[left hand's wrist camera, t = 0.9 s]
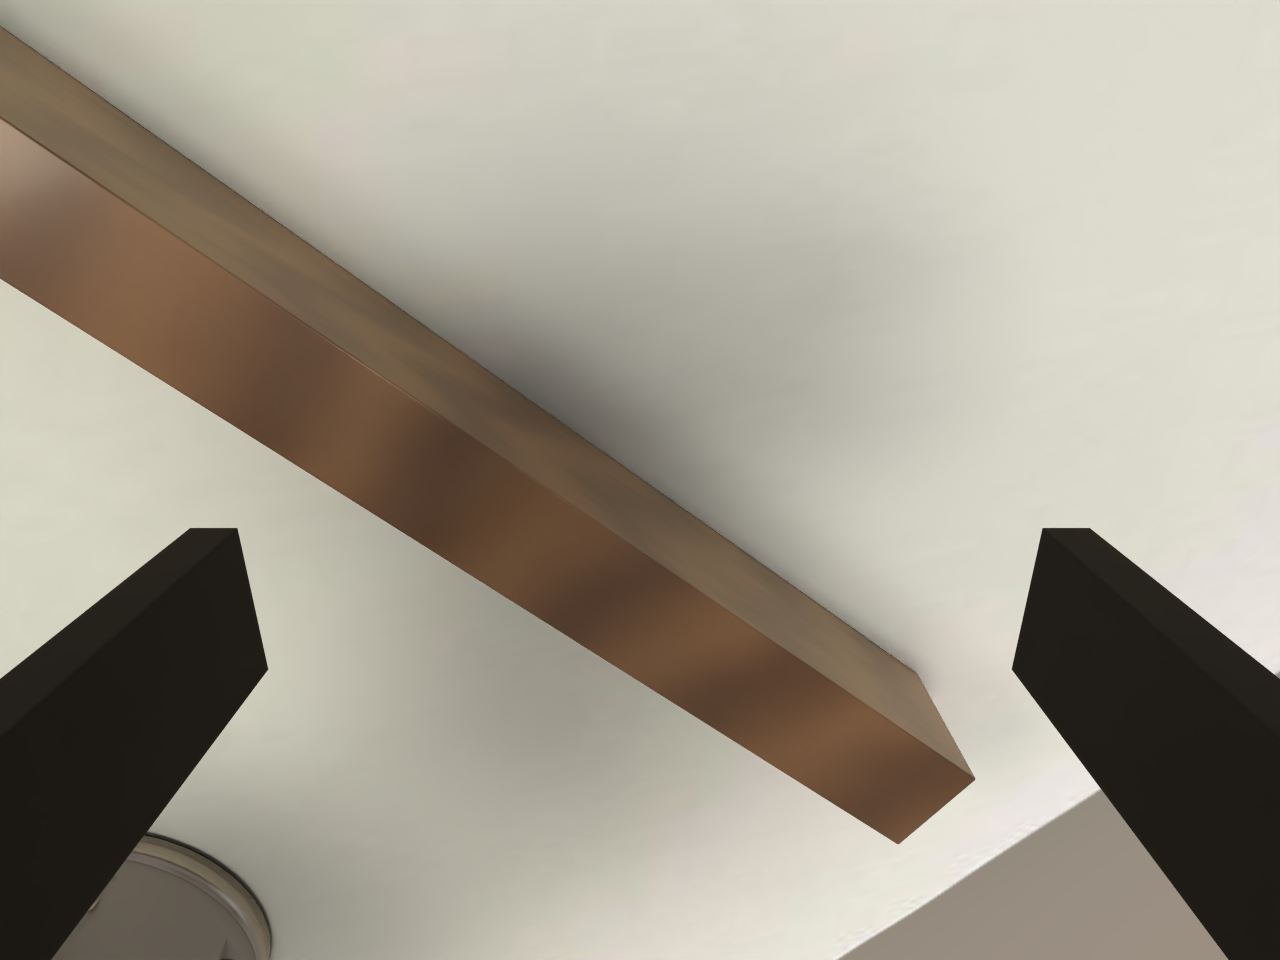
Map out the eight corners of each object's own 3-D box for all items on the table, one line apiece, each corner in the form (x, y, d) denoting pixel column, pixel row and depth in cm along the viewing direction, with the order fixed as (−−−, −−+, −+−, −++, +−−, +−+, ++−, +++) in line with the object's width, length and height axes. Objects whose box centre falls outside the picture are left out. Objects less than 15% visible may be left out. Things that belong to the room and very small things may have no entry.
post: (918, 674, 39) (976, 779, 32) (855, 732, 40) (898, 845, 33) (-1191, -816, 21) (-2073, -1292, 14) (-1173, -616, 22) (-1968, -960, 15)
